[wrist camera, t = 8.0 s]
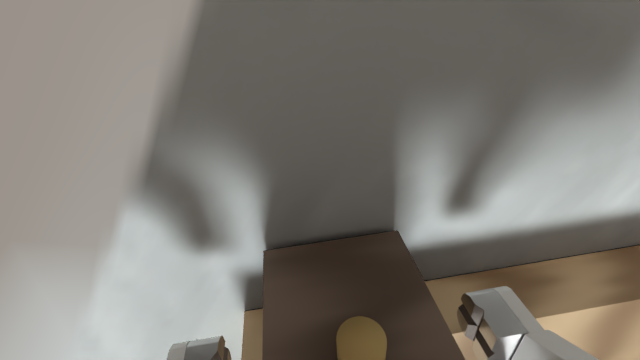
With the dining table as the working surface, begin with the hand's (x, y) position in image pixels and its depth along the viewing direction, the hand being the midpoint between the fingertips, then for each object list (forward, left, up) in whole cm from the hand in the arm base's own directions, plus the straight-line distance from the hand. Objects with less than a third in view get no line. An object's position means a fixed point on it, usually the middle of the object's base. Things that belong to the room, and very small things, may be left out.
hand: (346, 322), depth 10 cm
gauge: (0, +5, -2) cm, 5 cm away
